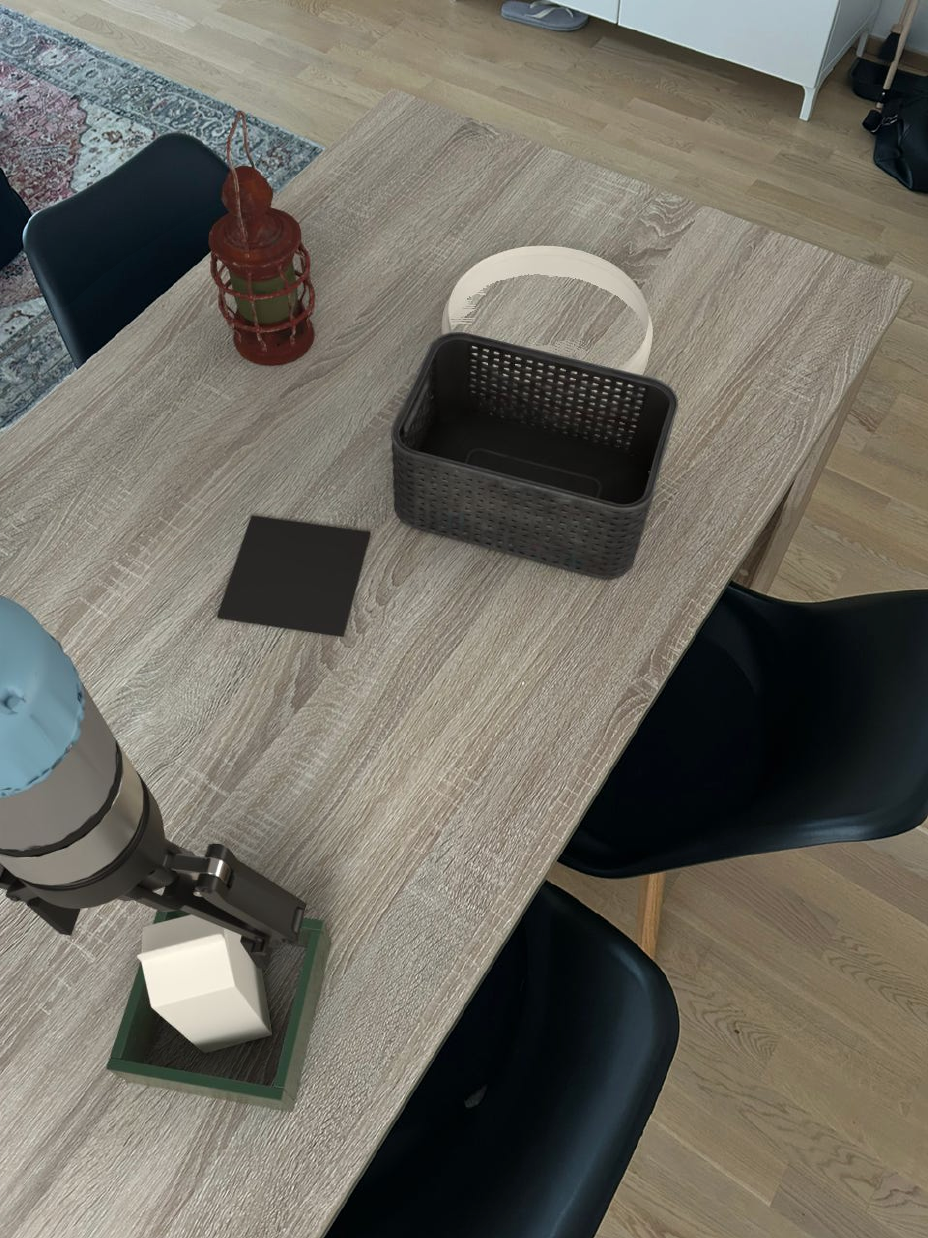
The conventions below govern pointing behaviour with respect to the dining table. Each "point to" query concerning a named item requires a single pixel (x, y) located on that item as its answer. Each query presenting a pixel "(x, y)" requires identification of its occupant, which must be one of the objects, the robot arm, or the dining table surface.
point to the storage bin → (530, 454)
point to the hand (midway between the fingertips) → (169, 932)
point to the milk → (204, 983)
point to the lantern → (261, 268)
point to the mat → (295, 576)
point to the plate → (552, 264)
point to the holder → (132, 1068)
